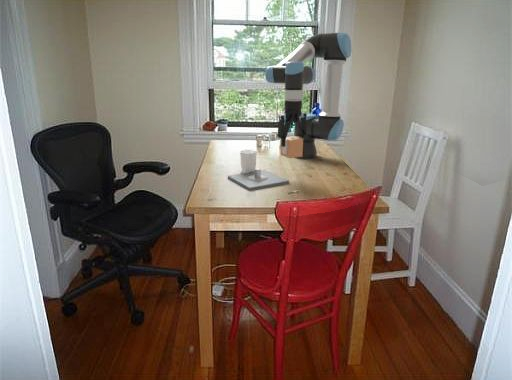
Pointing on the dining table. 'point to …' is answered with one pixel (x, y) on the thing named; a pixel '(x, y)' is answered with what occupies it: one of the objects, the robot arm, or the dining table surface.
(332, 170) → the dining table surface
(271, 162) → the dining table surface
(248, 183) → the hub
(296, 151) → the peach colored cube
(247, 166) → the white cup
